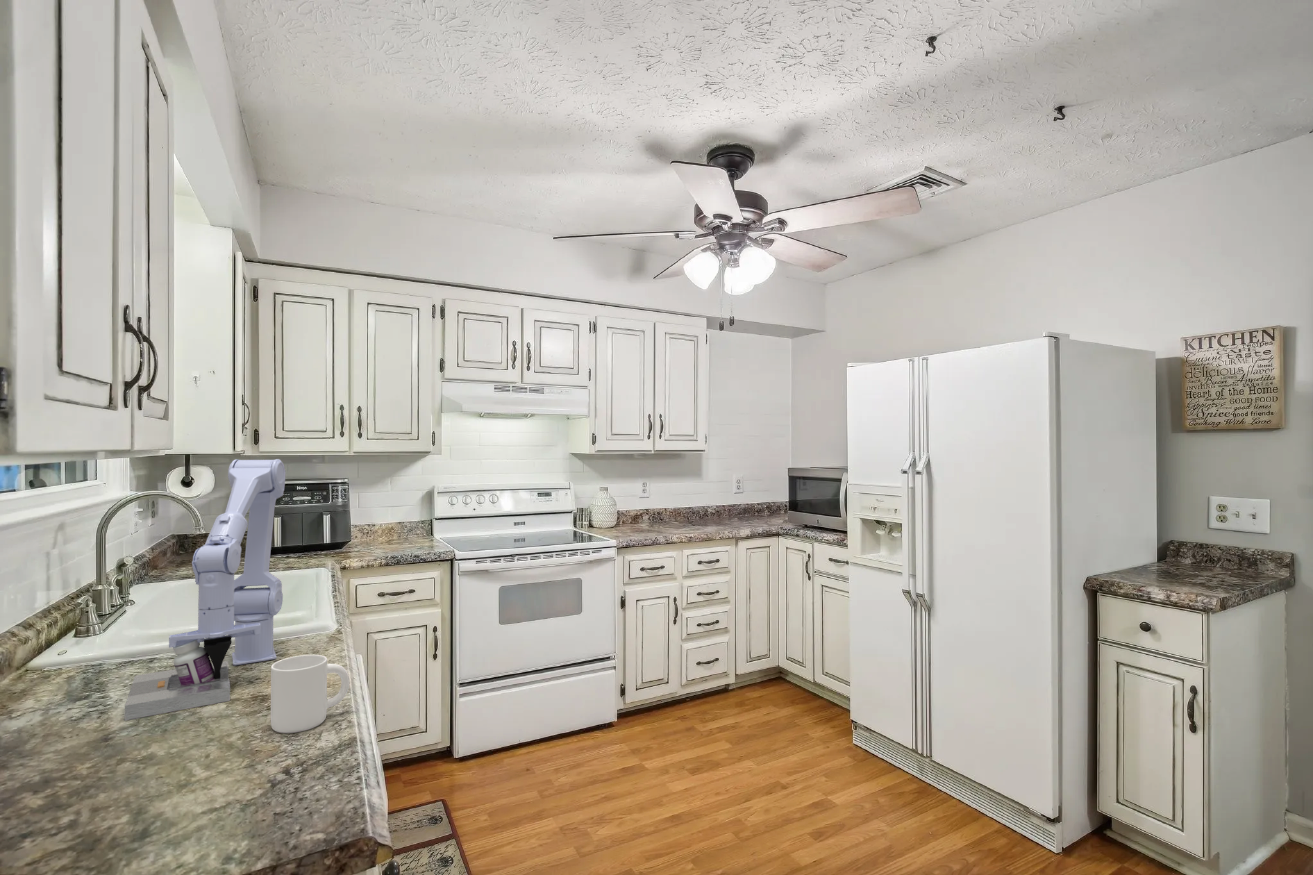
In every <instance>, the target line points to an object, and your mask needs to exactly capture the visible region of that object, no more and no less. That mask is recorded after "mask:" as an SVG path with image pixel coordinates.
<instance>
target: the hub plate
mask: <svg viewBox="0 0 1313 875" xmlns="http://www.w3.org/2000/svg"><path fill="white" fill-rule="evenodd" d="M211 664H212V663H211ZM212 666H213V664H212ZM229 667H230V666H229V660H225V661H224V660H223V663H222V666H221V669H220V679H217V680H215V681H210V682H204V683H198V684H192V685H186V686H181V683H180V681H179V678H178V675H177V672H176V669H174V668H173V669H167V670H162V671H161V670H160V671H156V672H149V673H144V674H137V675H136V674H135V675H134V677H133V681H132V683H131V686H130V689H129V693H128V695H127V698H126V701H125V704H124V721H130V720H134V719H139V718H144V717H145V718H146V717H152V716H157V715H161V714H165V713H172V712H178V711H182V710H188V709H193V708H199V707H204V706H209V705H215V704H221V703H225V702H230V701H231V682H230V681H231V680H230V679H229ZM213 669H214V666H213Z"/></svg>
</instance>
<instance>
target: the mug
mask: <svg viewBox="0 0 1313 875" xmlns="http://www.w3.org/2000/svg"><path fill="white" fill-rule="evenodd" d="M333 673H334V674H337V675H338V676H339V678H340V681H341V682H340V689H339V691H338V692H337V694H336V695H335V696H333V697H330V698H328V674H333ZM350 683H351V682H350V675H349V673H348V671H347V669H346V668H345V667H344V666H342V665H341V664H337V663H328V658H327V656H325V655H321V654H302V655H296V656H295V655H294V656H289V657H286V658H282V659H281V660H278V661H275V662H274V663H272V664H271V666H270V727H271V728H272V730H273V731H275V732H276V733H279V734H293V733H300V732H305V731H308V730H312V729H314V728H316V727H318V726H319V725H321V724H322V723H323V722H324V721H325V720H326V717H327V711H328V710H327V709H328V708H332V707H334V706H336V705H338V704H339V703H340V702H342V701H343V700H344V699H345V697H346V695H347V694H348V691H349V688H350Z"/></svg>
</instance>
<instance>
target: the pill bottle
mask: <svg viewBox="0 0 1313 875" xmlns="http://www.w3.org/2000/svg"><path fill="white" fill-rule="evenodd" d="M172 648H173V649H172V650H173V652H174V654H175V655H176V656H175V657H174V658H173V661H172V662H173V665H174V668H175V669H176V672H177V675H178V678H179V681H180V683H181V686H186V685H192V684H198V683H204V682H210V681H215V680H217V679H215V680H214V669H213V666H212V661H211V659H210V657H209V655H208V653H207V652H206V650H205V648H204V646H201V642H199V643H198V641H197V640H194V641H191V642H188V643H185V644H183V645H179V646H176V647H172Z"/></svg>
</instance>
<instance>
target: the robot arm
mask: <svg viewBox="0 0 1313 875" xmlns="http://www.w3.org/2000/svg"><path fill="white" fill-rule="evenodd" d="M227 472H228V473H227V478H228V483H229V486H230V488H231V491H230V494H229V498H228V501H227V505H226V508H225V511H224V513H221V514H218V515H217V516H216V518H215V520H214V522H213V524H212V527H211V529H210V531H209V534H208V536H207V538H206V541H205V544H203V545H202V546H200V547H198V548H197V549H195V551H194V553H193V556H192V561H191V565H192V566H191V567H192V572H193V573H194V582H195V585H197V586H198V595H197V596H198V598H197V599H198V606H197V608H198V610H197V612H198V615H197V616H198V618H197V625H198V626H197V630H193V631H188V632H182V633H177V634H170V635H168V636H169V637H168V648H173V647H176V646H179V645H183V644H185V643H188V642H191V641H194V640H197V641H198V643H199V642H200V643H203V647H204V648H205V650H206V652H207V653H208V655H209V658H210V661H211V664H213V666H214V680H215V679H220V669H221V666H222V663H223V662H224V660H225V657H226V655H227V654H228V652H229V649H230V647H231V645H232V639H234V652H232V653H231V657H232V666H240V665H245V664H247V665H248V664H251V663H253V664H254V663H258V662H264V661H270V660H271V661H272V660H276V659H277V654H276V651H275V648H274V616H277V614H279V612H281V610H282V608H283V607H282V606H283V602H284V600H283V598H284V595H283V584H282V583H283V582H282V581H281V579H279V578H278V577H277V576H275V575H274V574H272V573H271V572H270V561H271V550H272V541H273V529H274V528H273V527H274V518H275V517H274V516H275V507H276V501H277V499H279V498H282V497H283V496H284V491H285V485H286V474H287V473H286V468H285V465H284V462H283V461H282V460H281V459H280V458H276V459H237V458H236V459H234V460H232V462H231V463H229V467H228V470H227ZM248 512H249V513H248ZM247 513H248V520H247V519H246V518H245V517H246V516H247ZM246 531H247V532H246ZM245 533H246V543H245V544H246V545H245V552H244V553H245V555H244V564H243V573H242V574H241V575H240V576H238V577H236V578H235V573H236V572H237V571H238V570H239V567H240V566H241V565H240V564H241V555H242V546H241V544H242V542H243V539H244V537H245ZM258 586H260V587H258ZM261 586H265V587H261ZM247 587H248V588H247Z"/></svg>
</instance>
